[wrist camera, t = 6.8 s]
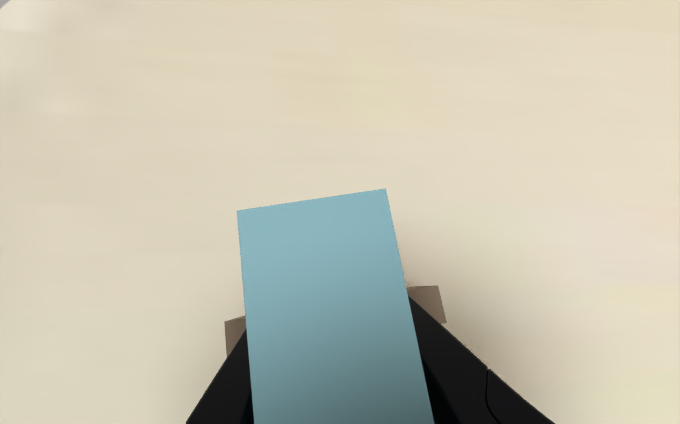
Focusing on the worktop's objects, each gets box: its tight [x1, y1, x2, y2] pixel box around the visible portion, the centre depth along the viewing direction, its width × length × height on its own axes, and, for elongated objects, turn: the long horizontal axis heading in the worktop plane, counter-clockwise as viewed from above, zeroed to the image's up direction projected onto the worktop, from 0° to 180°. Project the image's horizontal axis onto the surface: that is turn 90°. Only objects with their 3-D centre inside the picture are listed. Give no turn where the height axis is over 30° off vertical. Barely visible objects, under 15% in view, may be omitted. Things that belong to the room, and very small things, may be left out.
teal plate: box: [237, 189, 434, 424], centre depth 10 cm, size 7×3×10 cm, turn 9°
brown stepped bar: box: [225, 286, 446, 357], centre depth 19 cm, size 12×2×5 cm, turn 99°
